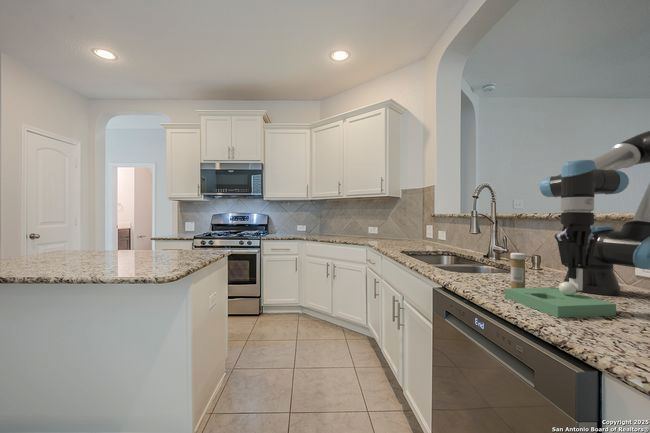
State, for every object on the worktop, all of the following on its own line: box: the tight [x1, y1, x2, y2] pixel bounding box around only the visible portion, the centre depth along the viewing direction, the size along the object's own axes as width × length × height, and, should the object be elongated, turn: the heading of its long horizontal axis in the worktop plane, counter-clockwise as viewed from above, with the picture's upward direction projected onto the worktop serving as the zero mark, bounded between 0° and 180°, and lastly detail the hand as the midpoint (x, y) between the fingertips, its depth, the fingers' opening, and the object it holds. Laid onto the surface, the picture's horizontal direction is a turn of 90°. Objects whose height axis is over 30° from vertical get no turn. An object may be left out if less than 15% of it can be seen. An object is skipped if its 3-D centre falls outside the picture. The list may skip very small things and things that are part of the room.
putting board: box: [504, 286, 617, 319], centre depth 83 cm, size 18×18×3 cm
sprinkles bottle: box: [509, 252, 527, 288], centre depth 100 cm, size 5×5×14 cm
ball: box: [558, 281, 577, 295], centre depth 83 cm, size 4×4×4 cm
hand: (575, 289), depth 83 cm, fingers closed
